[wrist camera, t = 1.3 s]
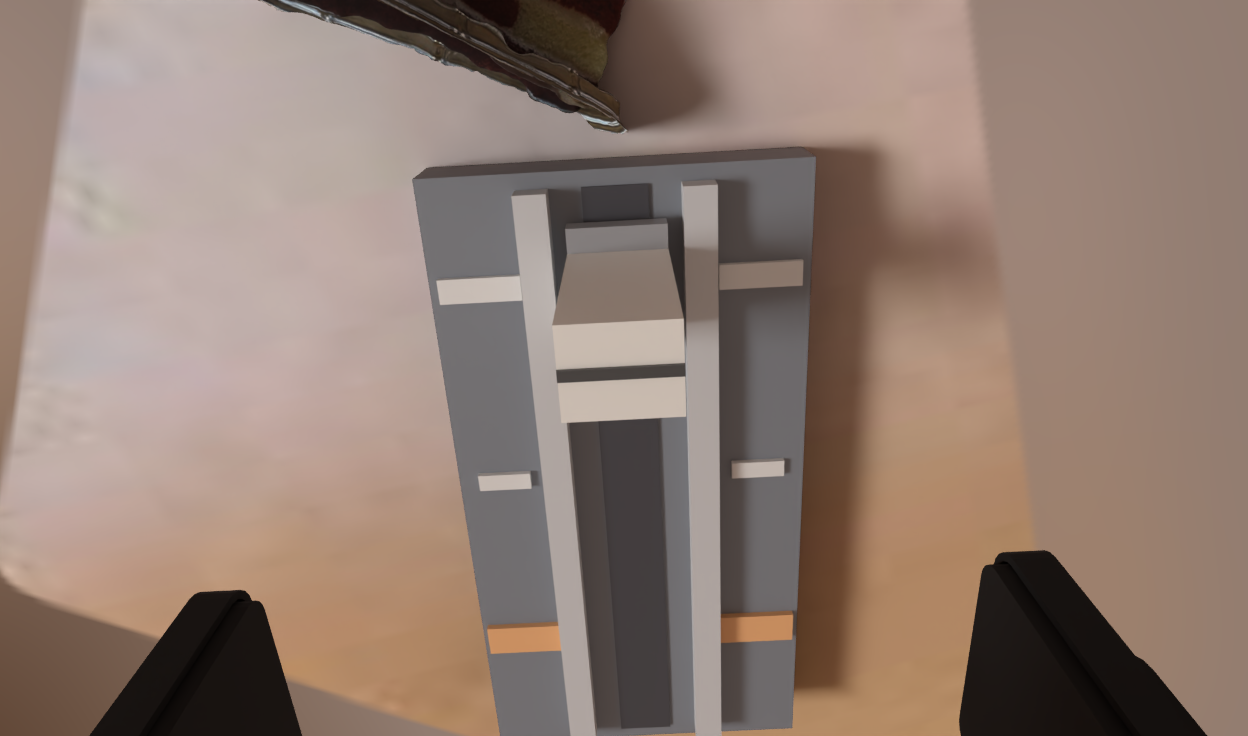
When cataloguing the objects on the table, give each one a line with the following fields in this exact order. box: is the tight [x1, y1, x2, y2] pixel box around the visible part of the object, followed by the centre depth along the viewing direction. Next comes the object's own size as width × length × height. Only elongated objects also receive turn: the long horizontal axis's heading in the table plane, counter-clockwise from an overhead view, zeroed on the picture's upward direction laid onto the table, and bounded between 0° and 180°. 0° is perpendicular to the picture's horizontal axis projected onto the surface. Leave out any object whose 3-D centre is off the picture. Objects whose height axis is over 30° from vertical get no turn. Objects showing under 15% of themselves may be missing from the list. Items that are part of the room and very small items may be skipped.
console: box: [412, 147, 816, 736], centre depth 29 cm, size 23×12×3 cm, turn 4°
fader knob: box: [552, 218, 686, 423], centre depth 22 cm, size 4×3×7 cm
